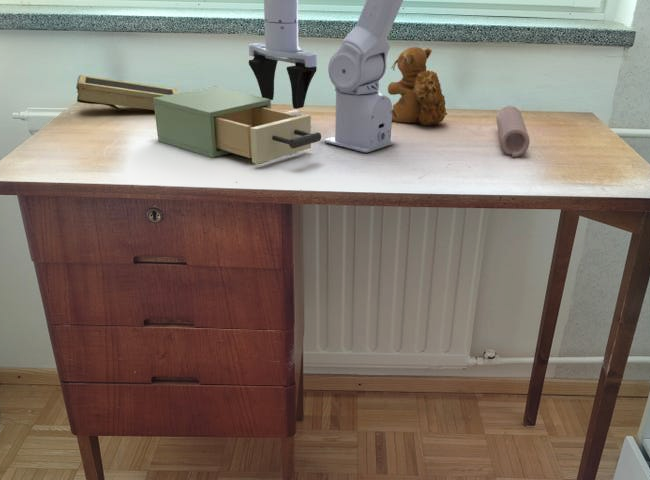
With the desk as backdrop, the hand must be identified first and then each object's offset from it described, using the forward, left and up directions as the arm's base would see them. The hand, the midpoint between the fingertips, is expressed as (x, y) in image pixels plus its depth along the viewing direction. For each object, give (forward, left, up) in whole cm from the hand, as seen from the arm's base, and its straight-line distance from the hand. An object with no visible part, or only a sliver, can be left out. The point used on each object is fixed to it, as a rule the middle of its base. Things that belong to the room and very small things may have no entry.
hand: (283, 104), depth 125 cm
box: (+30, +10, -5) cm, 32 cm away
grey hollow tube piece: (-35, -22, -5) cm, 42 cm away
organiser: (+3, +14, -5) cm, 15 cm away
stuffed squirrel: (-14, -24, -5) cm, 28 cm away
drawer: (-10, +14, -4) cm, 17 cm away
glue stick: (0, 0, -5) cm, 5 cm away
